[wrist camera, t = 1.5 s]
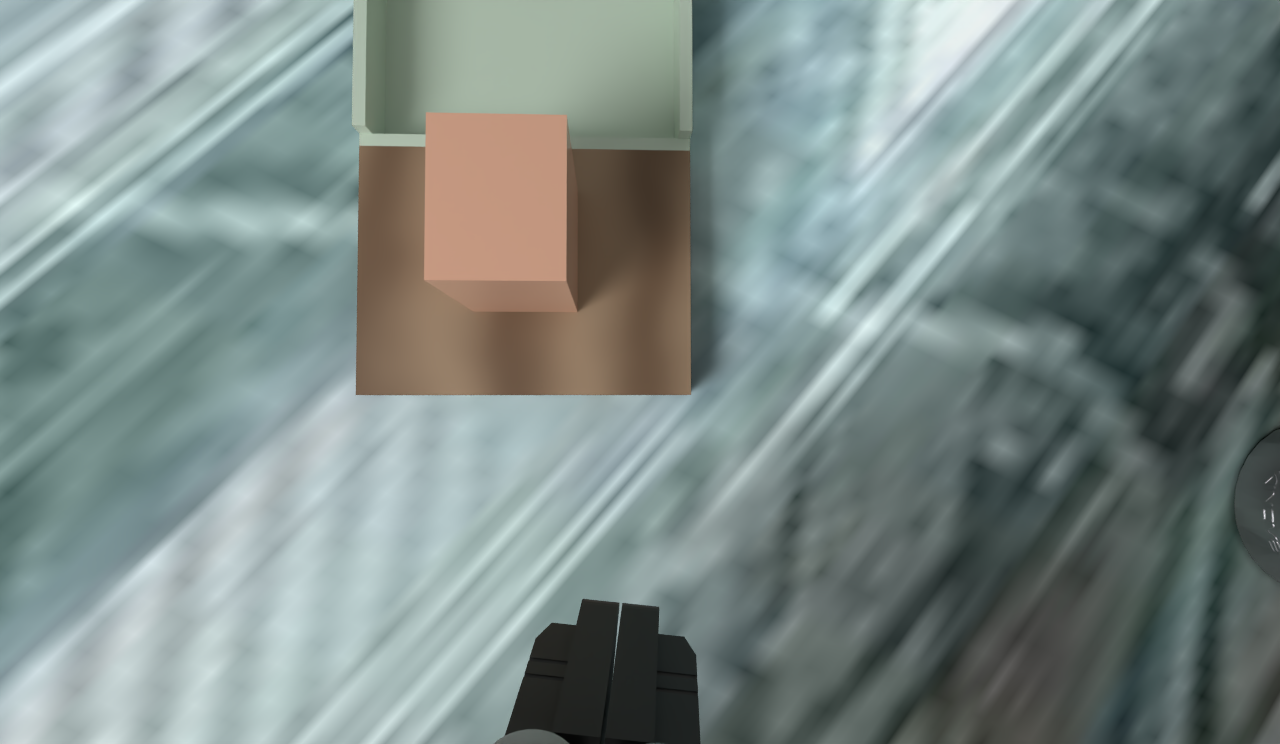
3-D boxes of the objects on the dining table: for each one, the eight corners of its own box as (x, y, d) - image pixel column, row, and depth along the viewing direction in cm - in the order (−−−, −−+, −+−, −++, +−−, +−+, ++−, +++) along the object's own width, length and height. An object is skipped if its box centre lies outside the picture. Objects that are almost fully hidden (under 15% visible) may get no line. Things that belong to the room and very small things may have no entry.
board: (684, 167, 37) (689, 150, 34) (685, 394, 36) (691, 394, 34) (376, 163, 36) (359, 145, 34) (373, 395, 36) (355, 394, 33)
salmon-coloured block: (577, 189, 34) (566, 114, 25) (577, 311, 34) (566, 280, 25) (474, 188, 34) (425, 112, 25) (473, 311, 34) (423, 280, 25)
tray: (683, -103, 37) (692, -162, 33) (684, 167, 37) (693, 139, 33) (380, -112, 37) (352, -174, 33) (376, 163, 36) (347, 133, 32)
